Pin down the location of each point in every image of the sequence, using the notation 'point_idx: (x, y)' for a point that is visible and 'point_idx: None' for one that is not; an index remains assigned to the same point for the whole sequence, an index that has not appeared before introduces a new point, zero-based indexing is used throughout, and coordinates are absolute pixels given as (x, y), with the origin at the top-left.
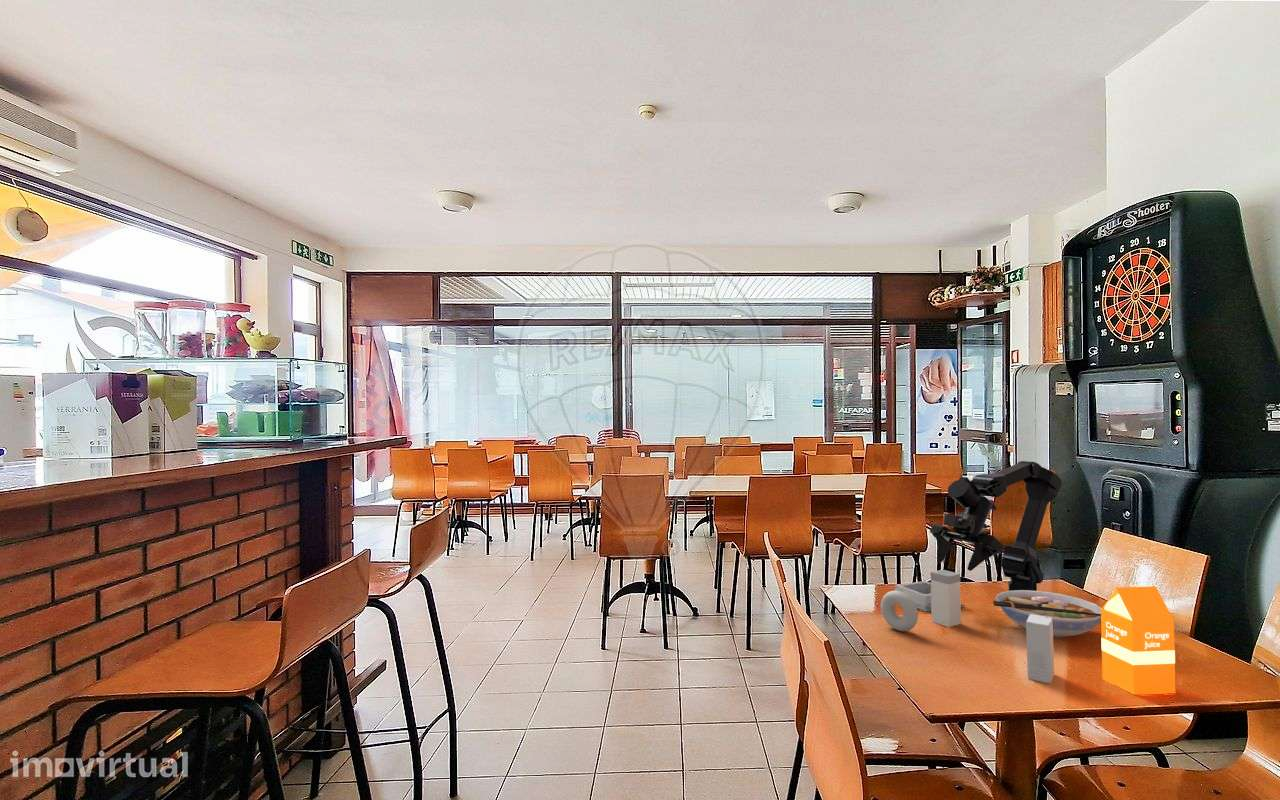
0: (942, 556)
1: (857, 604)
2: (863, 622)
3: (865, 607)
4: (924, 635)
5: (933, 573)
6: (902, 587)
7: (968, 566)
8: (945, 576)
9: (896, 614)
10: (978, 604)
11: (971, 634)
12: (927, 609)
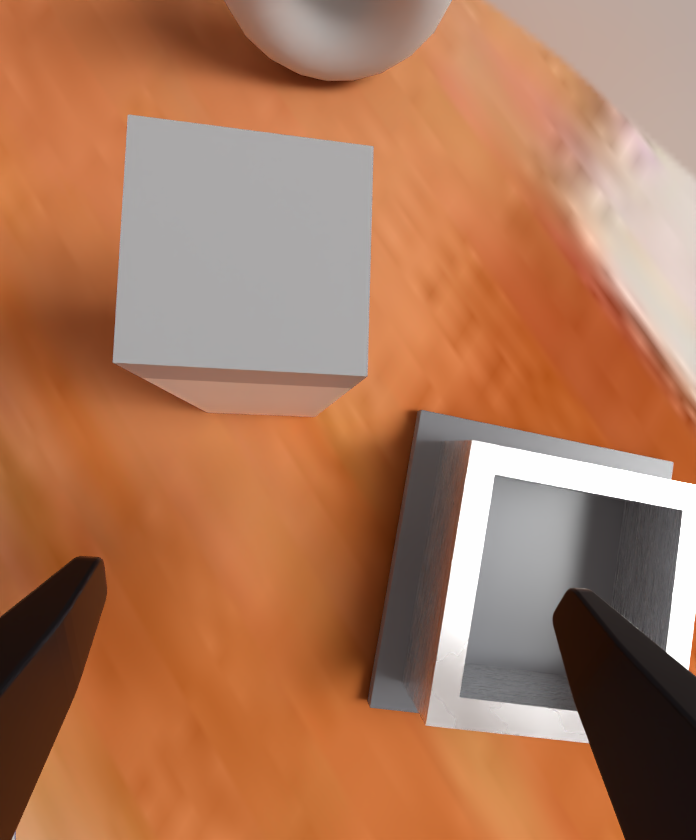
0: (608, 700)
1: (672, 242)
2: (486, 35)
3: (624, 234)
4: (212, 96)
5: (335, 147)
6: (656, 483)
7: (72, 577)
8: (169, 126)
9: (359, 11)
10: (347, 826)
11: (77, 301)
12: (428, 440)
